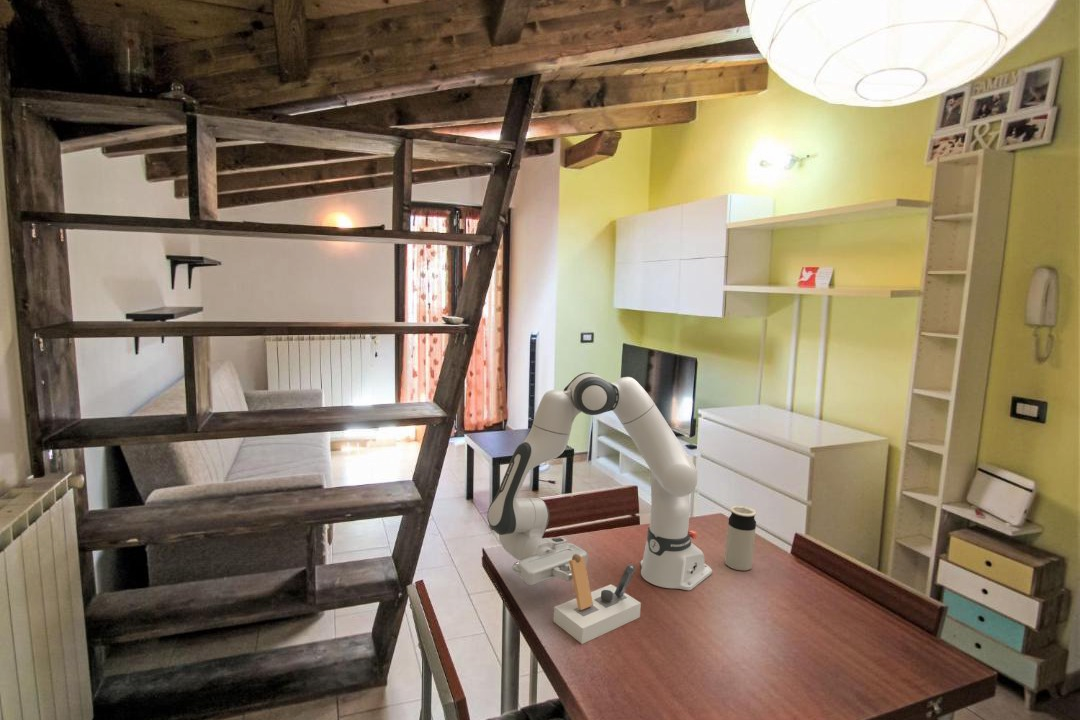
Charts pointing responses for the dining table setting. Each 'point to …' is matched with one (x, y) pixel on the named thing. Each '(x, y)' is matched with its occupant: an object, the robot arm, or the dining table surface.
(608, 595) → the push button
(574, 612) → the console
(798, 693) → the dining table surface
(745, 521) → the travel mug
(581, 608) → the paddle lever
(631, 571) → the toggle lever
